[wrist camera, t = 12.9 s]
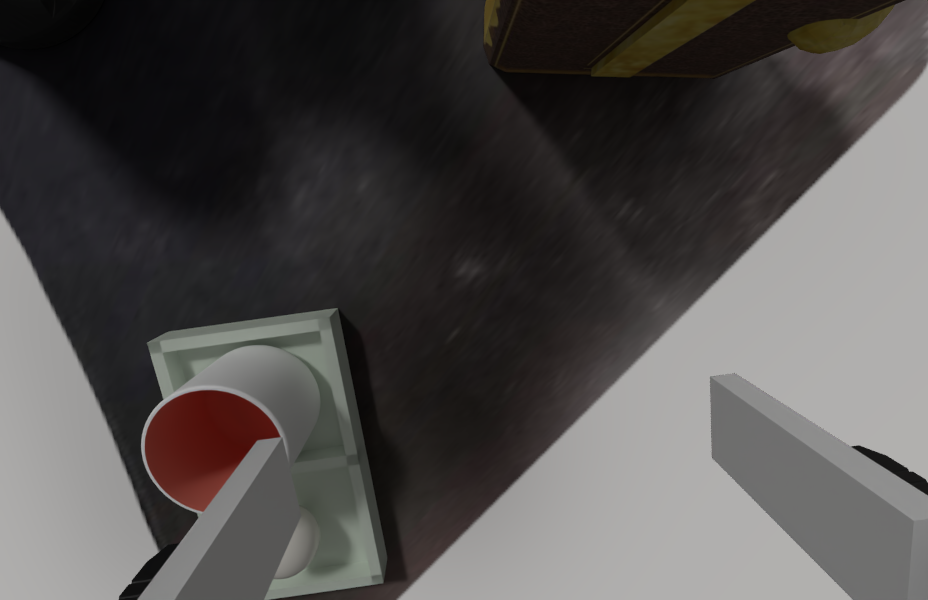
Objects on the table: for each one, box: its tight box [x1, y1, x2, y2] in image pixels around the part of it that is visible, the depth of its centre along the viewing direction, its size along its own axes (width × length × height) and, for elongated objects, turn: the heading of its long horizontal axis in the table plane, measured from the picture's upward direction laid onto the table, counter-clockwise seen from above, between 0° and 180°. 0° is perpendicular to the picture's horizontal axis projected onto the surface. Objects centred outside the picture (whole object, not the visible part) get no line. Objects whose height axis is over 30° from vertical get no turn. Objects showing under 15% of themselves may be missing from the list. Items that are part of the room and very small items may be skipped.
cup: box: [141, 345, 320, 514], centre depth 38 cm, size 10×10×10 cm
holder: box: [147, 308, 387, 600], centre depth 44 cm, size 26×15×3 cm, turn 8°
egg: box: [273, 505, 320, 579], centre depth 43 cm, size 6×6×6 cm
